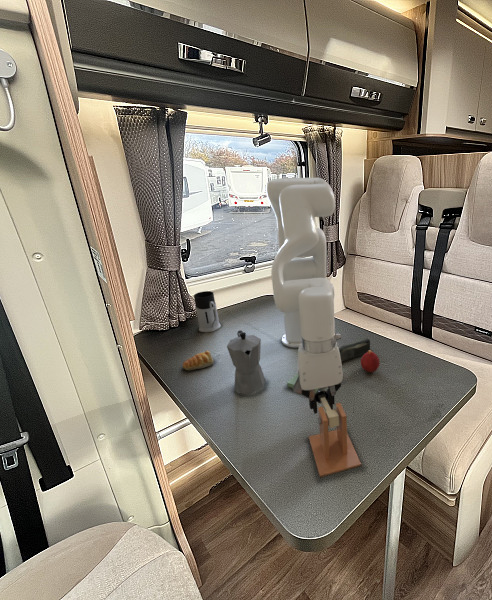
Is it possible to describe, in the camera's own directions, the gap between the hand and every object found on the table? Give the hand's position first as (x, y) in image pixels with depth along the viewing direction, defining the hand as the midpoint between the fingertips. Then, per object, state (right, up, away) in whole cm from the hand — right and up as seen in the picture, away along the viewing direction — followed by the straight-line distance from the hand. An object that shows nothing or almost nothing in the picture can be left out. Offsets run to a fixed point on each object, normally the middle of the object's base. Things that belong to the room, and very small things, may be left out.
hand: (322, 407), depth 78 cm
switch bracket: (+3, -8, -7) cm, 11 cm away
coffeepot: (-23, +1, +18) cm, 29 cm away
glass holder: (-48, +14, +55) cm, 74 cm away
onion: (+14, +3, +23) cm, 27 cm away
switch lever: (+1, +1, -5) cm, 5 cm away
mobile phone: (+9, +7, +32) cm, 33 cm away
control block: (-4, +1, +18) cm, 19 cm away
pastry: (-42, +4, +29) cm, 52 cm away
